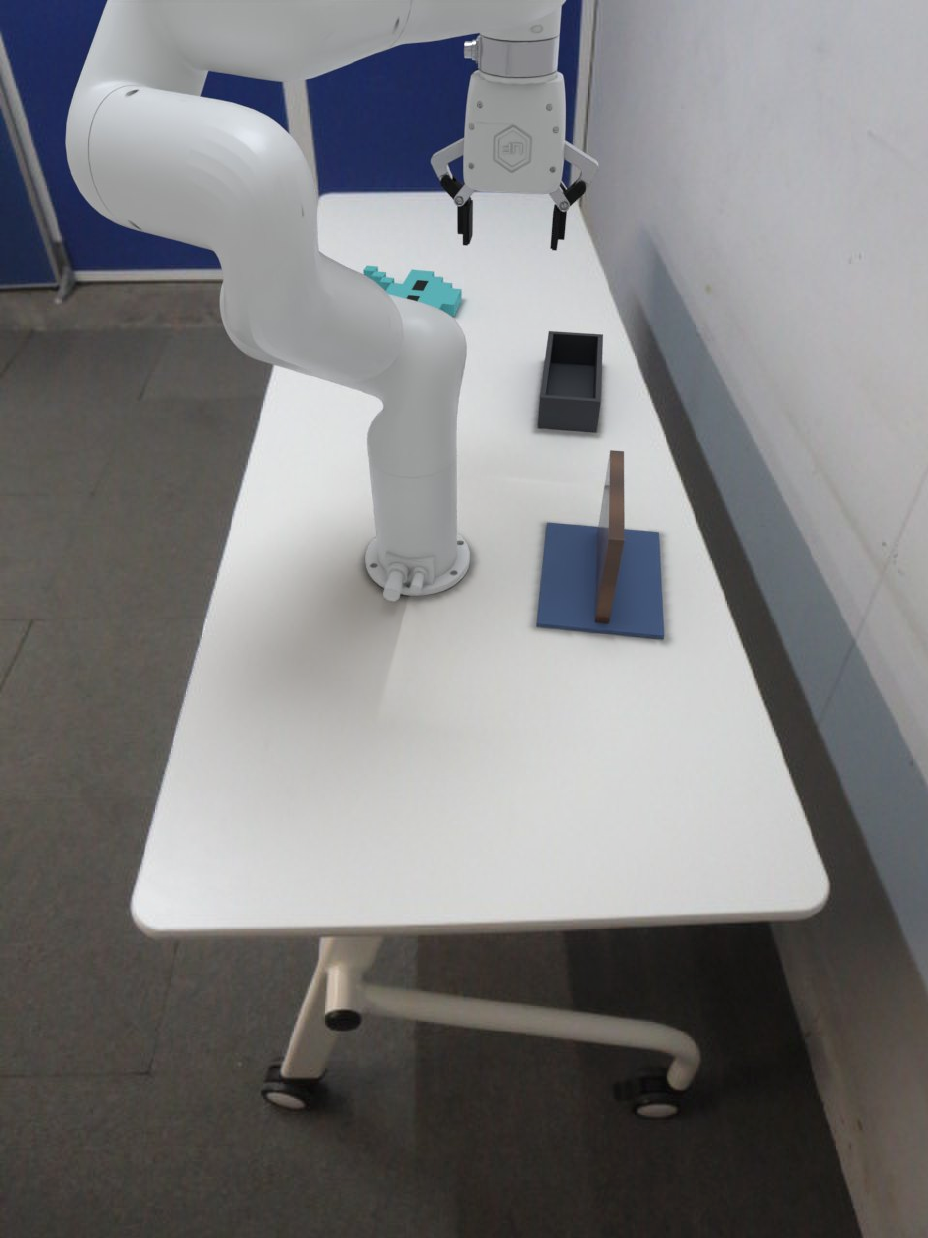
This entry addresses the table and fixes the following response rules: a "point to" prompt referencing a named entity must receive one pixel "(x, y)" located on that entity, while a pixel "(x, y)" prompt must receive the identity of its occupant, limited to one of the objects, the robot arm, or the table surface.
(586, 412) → the bin
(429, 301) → the alien figure
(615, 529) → the board
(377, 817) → the table surface
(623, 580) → the mat
